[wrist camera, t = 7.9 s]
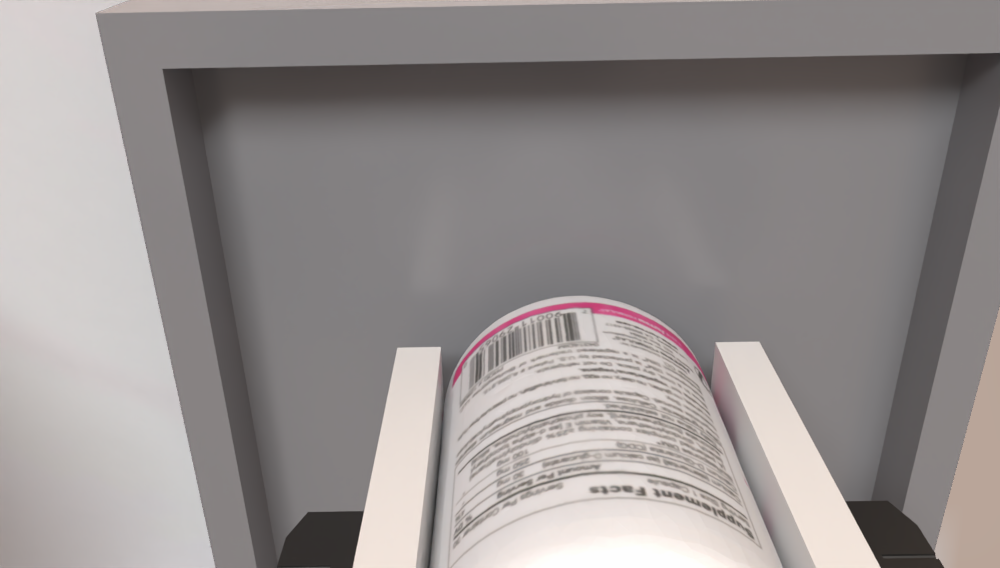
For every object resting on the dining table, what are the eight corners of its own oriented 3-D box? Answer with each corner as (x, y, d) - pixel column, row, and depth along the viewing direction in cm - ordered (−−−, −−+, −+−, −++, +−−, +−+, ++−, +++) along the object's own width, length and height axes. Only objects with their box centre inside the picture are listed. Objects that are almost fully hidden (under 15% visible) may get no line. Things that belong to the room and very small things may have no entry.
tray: (264, 617, 20) (242, 691, 19) (146, -7, 14) (94, 13, 12) (863, 608, 20) (899, 681, 18) (1008, -25, 14) (1082, -6, 12)
